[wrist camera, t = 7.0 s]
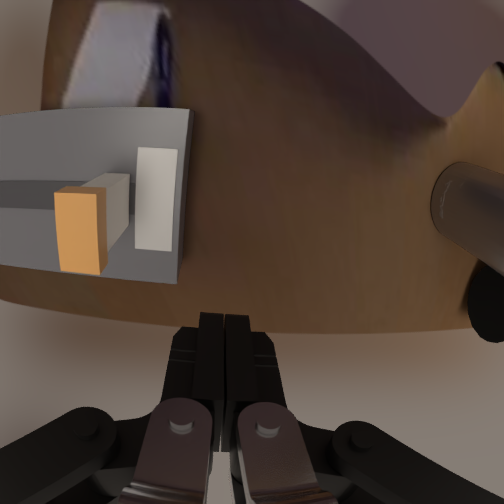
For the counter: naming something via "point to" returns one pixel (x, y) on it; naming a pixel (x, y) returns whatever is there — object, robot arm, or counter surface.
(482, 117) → the counter surface
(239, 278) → the counter surface
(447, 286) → the counter surface
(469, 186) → the robot arm
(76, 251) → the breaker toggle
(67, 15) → the counter surface
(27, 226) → the breaker housing
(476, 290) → the black cylinder
